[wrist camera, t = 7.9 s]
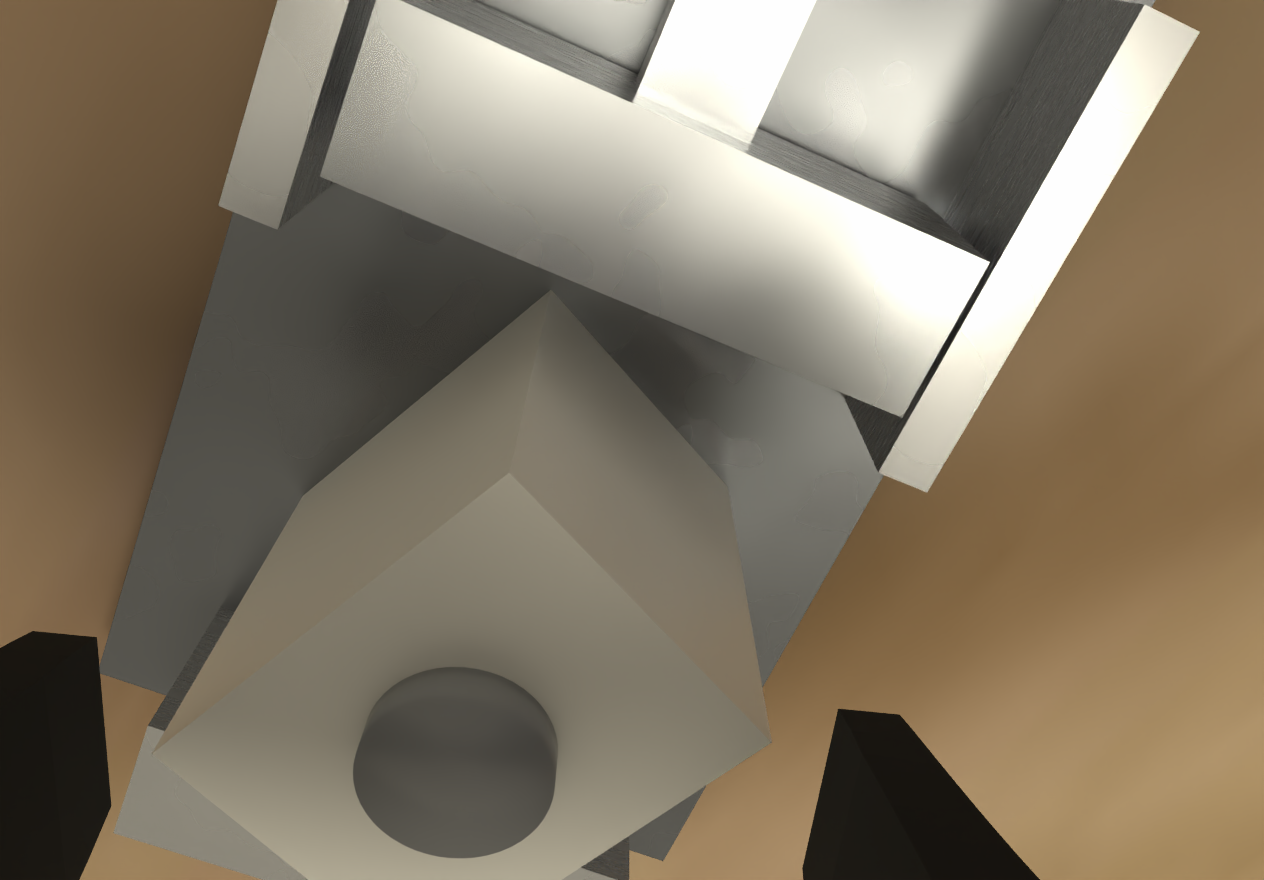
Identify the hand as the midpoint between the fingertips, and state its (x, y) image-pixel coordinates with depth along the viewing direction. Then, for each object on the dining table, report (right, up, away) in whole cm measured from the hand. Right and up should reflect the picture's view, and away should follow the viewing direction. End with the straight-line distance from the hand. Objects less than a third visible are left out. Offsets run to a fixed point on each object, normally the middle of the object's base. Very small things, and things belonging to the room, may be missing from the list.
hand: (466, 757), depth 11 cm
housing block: (0, +2, +6) cm, 7 cm away
